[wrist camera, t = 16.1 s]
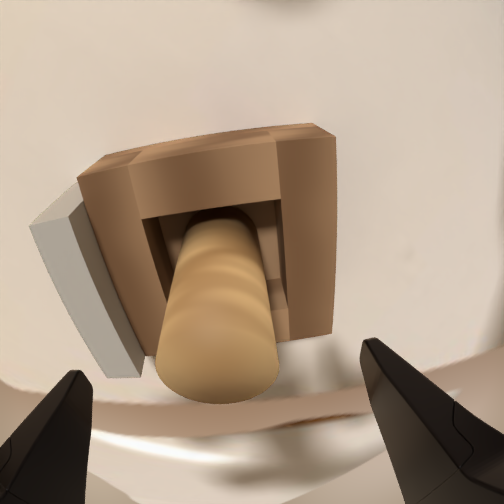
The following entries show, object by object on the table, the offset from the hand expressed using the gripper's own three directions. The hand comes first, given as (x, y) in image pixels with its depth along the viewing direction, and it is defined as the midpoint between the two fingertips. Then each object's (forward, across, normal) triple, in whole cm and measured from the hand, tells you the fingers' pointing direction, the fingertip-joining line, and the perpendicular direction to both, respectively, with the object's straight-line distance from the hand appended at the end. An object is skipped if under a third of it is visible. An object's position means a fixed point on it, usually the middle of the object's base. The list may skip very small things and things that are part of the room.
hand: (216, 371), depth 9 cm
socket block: (+9, 0, 0) cm, 9 cm away
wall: (+9, +6, 0) cm, 11 cm away
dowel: (+8, 0, 0) cm, 8 cm away
